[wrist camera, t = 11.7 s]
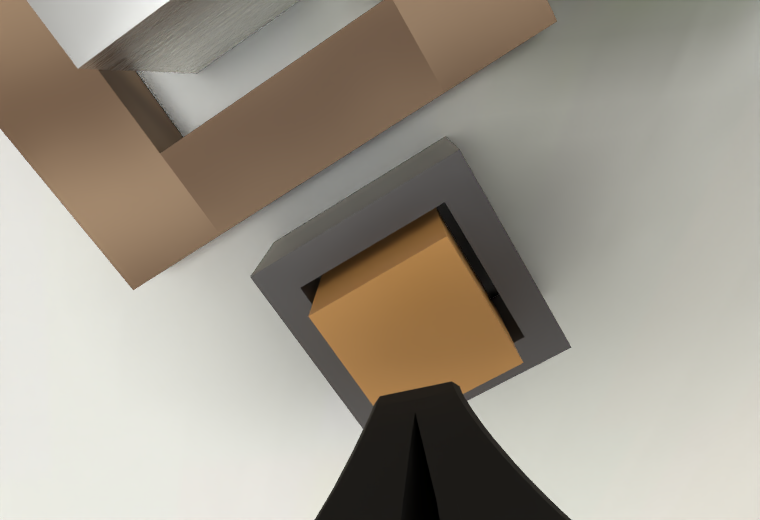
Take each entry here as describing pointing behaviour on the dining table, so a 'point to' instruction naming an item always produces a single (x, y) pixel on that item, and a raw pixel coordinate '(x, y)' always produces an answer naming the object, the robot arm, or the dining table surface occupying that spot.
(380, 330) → the button
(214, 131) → the brown board with cutouts
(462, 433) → the robot arm
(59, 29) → the block
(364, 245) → the button housing
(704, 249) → the dining table surface
